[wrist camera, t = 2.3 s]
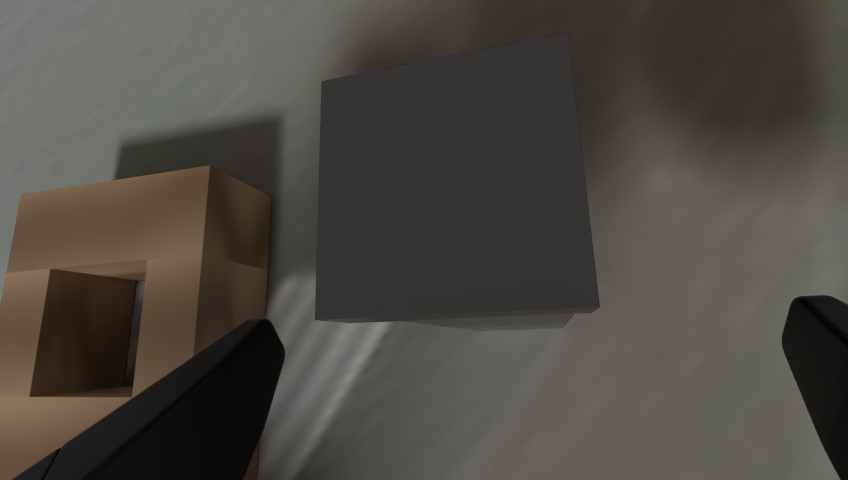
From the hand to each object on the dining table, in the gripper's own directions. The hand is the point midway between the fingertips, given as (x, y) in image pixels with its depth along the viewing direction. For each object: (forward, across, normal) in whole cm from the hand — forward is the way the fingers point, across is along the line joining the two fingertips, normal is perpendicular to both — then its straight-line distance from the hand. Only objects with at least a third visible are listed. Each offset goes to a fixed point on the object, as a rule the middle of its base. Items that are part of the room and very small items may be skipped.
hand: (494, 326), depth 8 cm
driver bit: (+8, 0, +5) cm, 9 cm away
